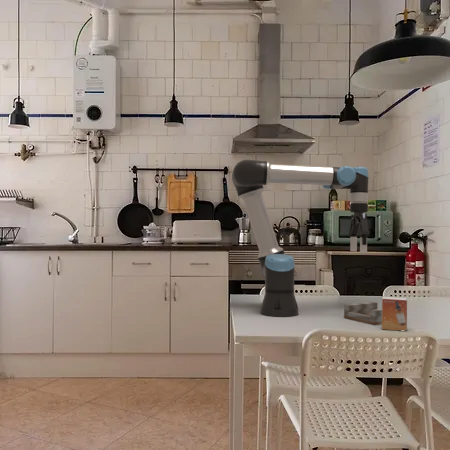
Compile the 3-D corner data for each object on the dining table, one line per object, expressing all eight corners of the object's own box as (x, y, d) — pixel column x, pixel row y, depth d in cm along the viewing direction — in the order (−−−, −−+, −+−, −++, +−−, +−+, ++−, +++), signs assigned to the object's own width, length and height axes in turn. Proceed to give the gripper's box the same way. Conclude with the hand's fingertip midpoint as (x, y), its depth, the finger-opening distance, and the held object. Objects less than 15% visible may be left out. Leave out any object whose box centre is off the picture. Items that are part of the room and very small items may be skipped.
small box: (381, 329, 152) (381, 298, 152) (382, 326, 157) (382, 296, 157) (407, 331, 149) (407, 299, 149) (406, 328, 154) (406, 297, 154)
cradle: (374, 325, 159) (374, 311, 159) (344, 318, 172) (344, 304, 172) (405, 320, 167) (405, 307, 167) (373, 314, 180) (373, 301, 180)
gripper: (377, 201, 183) (377, 253, 182) (358, 204, 208) (357, 251, 207) (359, 201, 182) (358, 253, 182) (342, 204, 207) (341, 250, 207)
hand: (358, 252), depth 195 cm, fingers open, 13 cm apart
